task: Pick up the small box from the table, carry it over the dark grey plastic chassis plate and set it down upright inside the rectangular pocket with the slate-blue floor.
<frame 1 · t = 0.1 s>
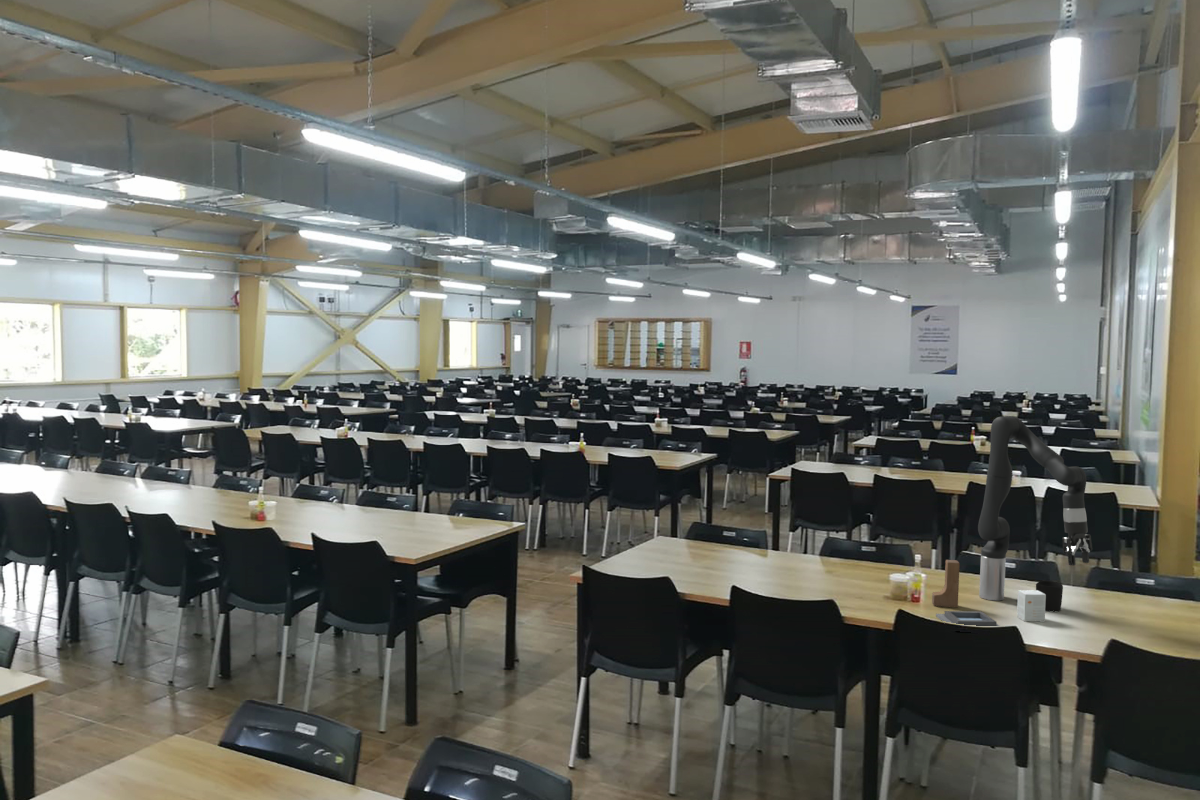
hand: (1079, 563, 314), 22 cm above the table, tool pointing down, fingers open, 8 cm apart
wooden block: (944, 606, 335), on the table
small box: (1030, 620, 319), on the table
pen holder: (1048, 609, 333), on the table
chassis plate: (969, 624, 312), on the table
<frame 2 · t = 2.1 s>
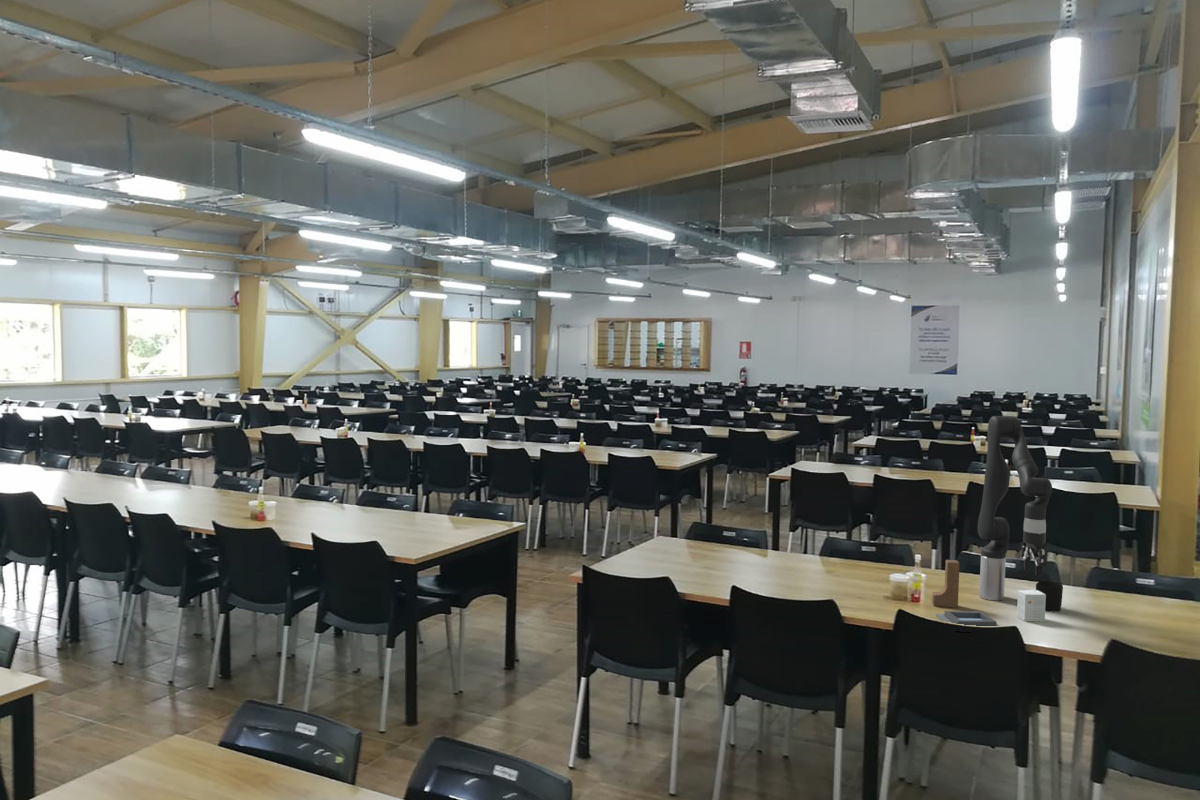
hand: (1032, 573, 318), 18 cm above the table, tool pointing down, fingers open, 8 cm apart
nothing on the table moved.
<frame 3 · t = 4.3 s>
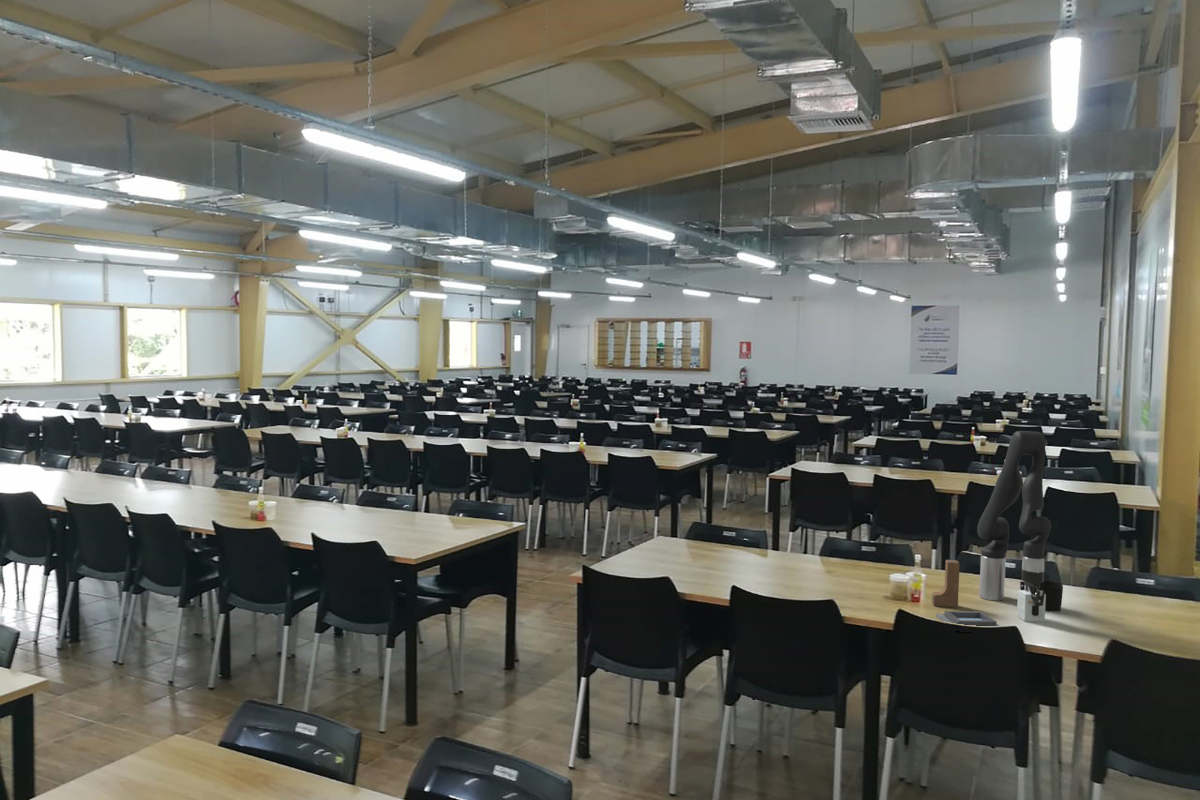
hand: (1030, 612, 319), 3 cm above the table, tool pointing down, fingers closed on small box, 5 cm apart
small box: (1030, 619, 319), on the table, touching gripper
everything else where it was.
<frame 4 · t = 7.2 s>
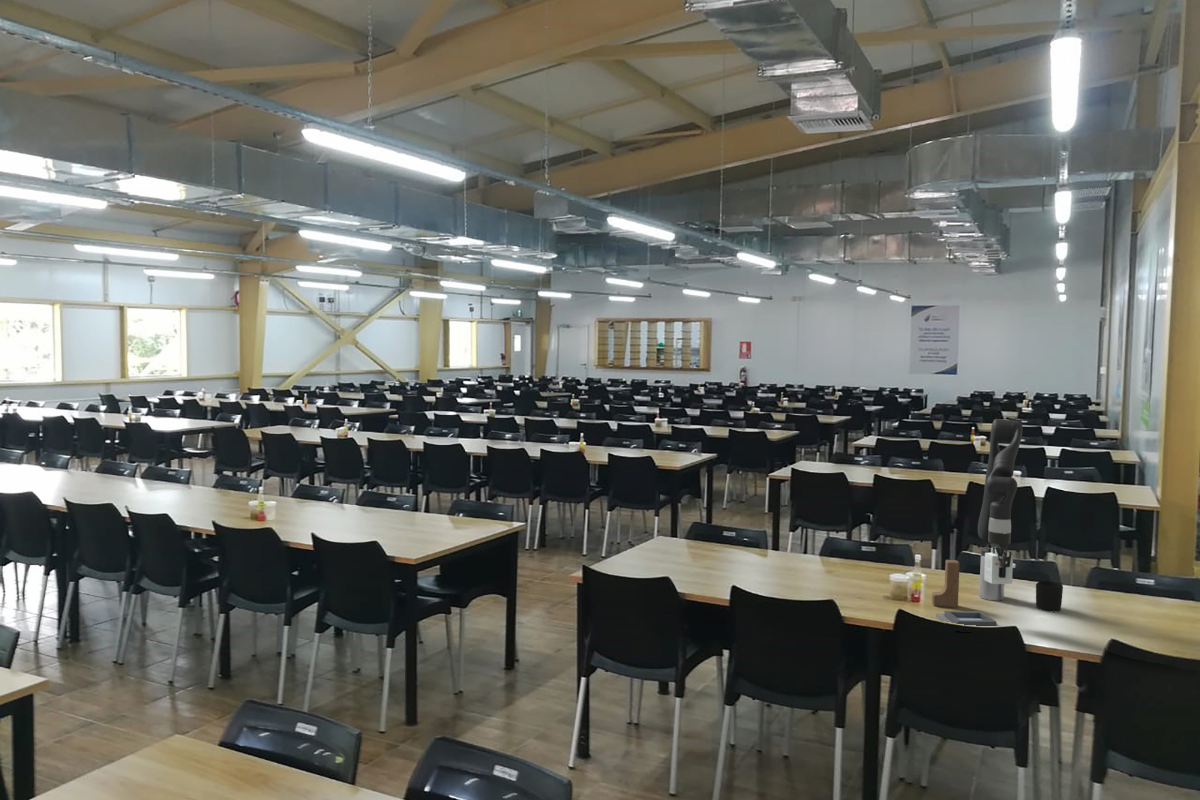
hand: (997, 575, 313), 18 cm above the table, tool pointing down, fingers closed on small box, 5 cm apart
small box: (997, 582, 314), point 15 cm above the table, touching gripper
everything else where it was.
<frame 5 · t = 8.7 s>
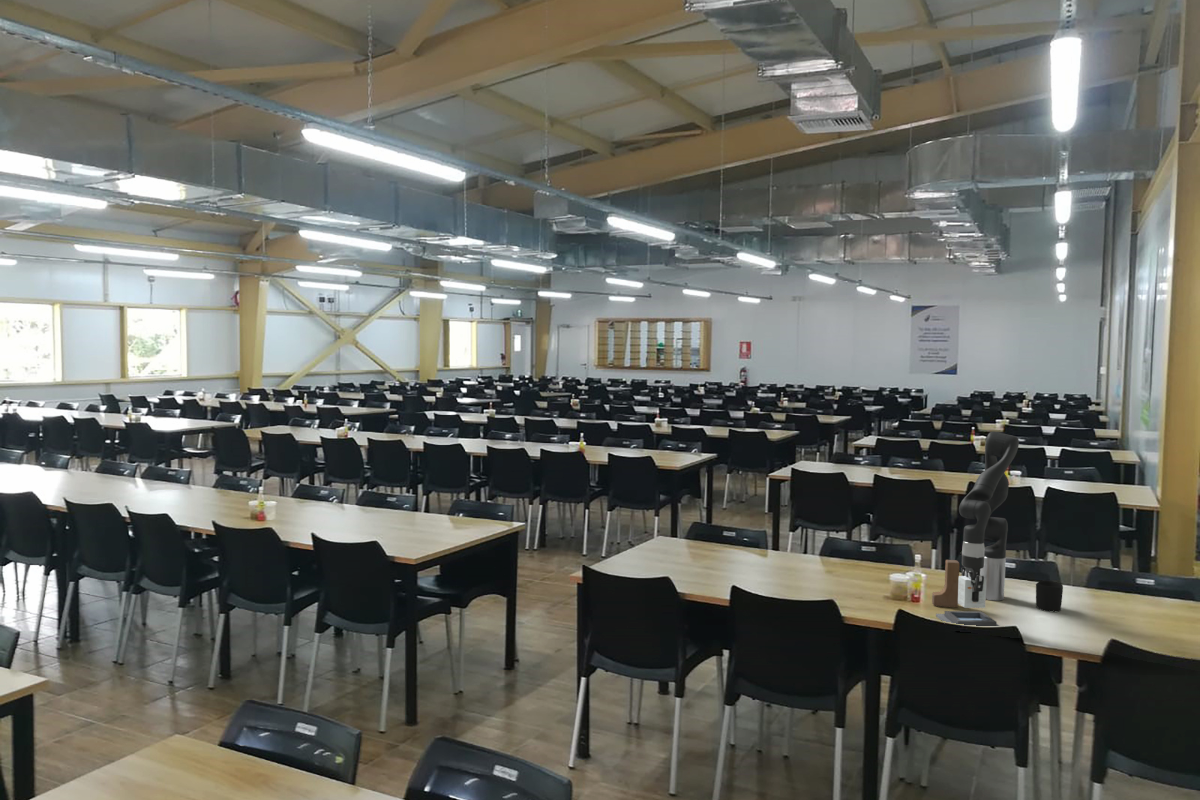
hand: (971, 598, 312), 10 cm above the table, tool pointing down, fingers closed on small box, 5 cm apart
small box: (971, 606, 312), point 7 cm above the table, touching gripper
everything else where it was.
when the fingers open (5 cm above the table, at t = 10.1 s): small box drops 1 cm, resting on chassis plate.
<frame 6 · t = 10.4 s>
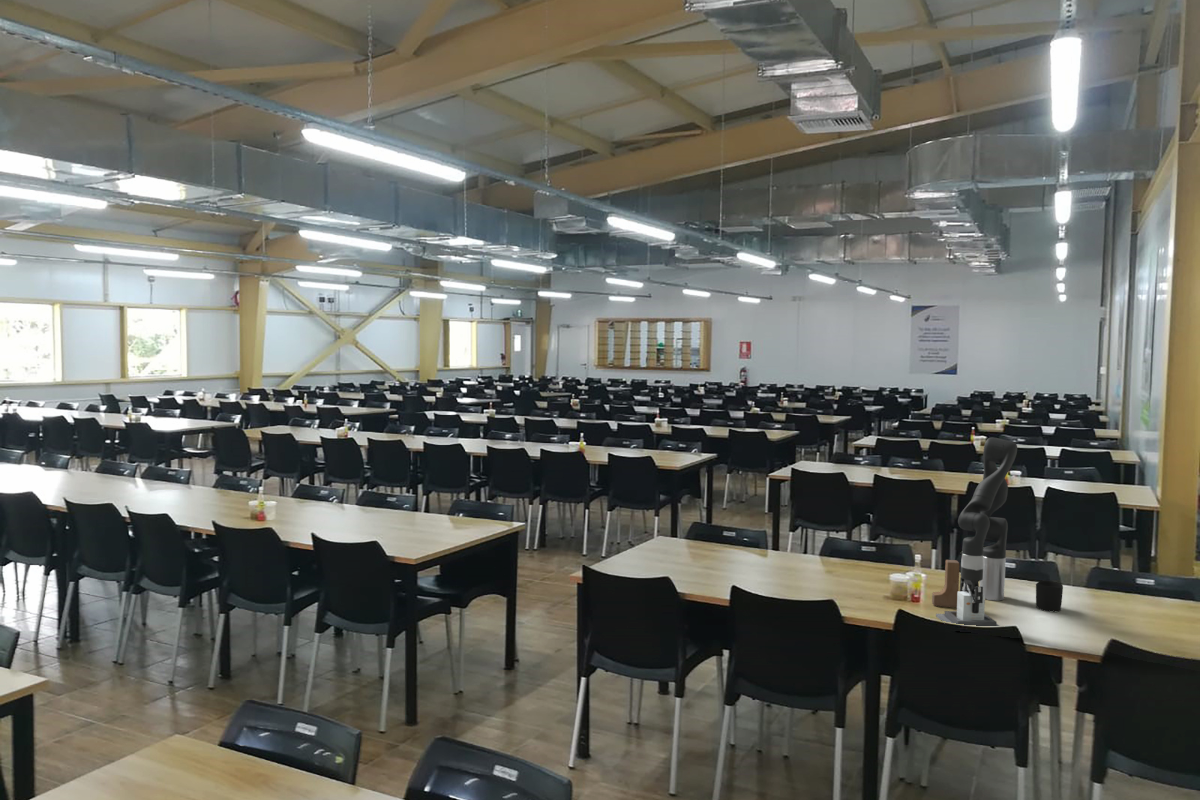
hand: (970, 609, 312), 6 cm above the table, tool pointing down, fingers open, 8 cm apart
small box: (970, 621, 312), point 1 cm above the table, touching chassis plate
everything else where it was.
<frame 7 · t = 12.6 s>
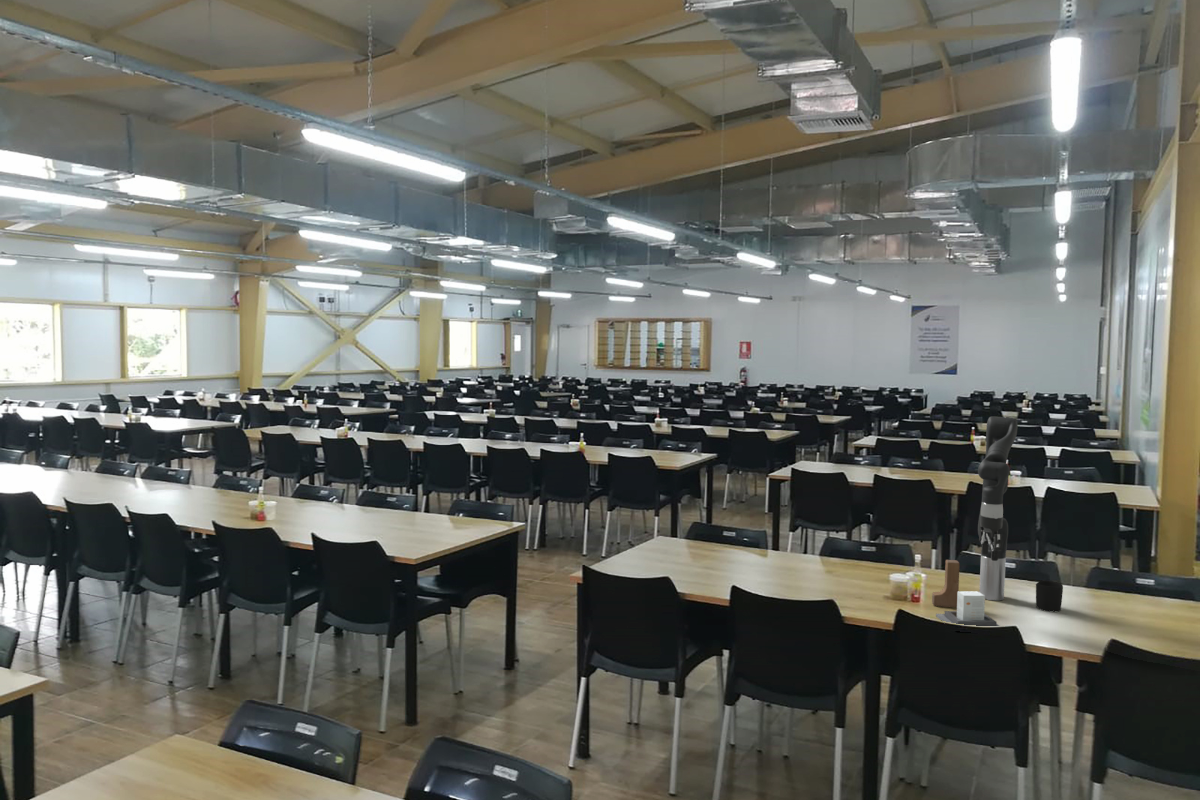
hand: (989, 557, 317), 24 cm above the table, tool pointing down, fingers open, 8 cm apart
nothing on the table moved.
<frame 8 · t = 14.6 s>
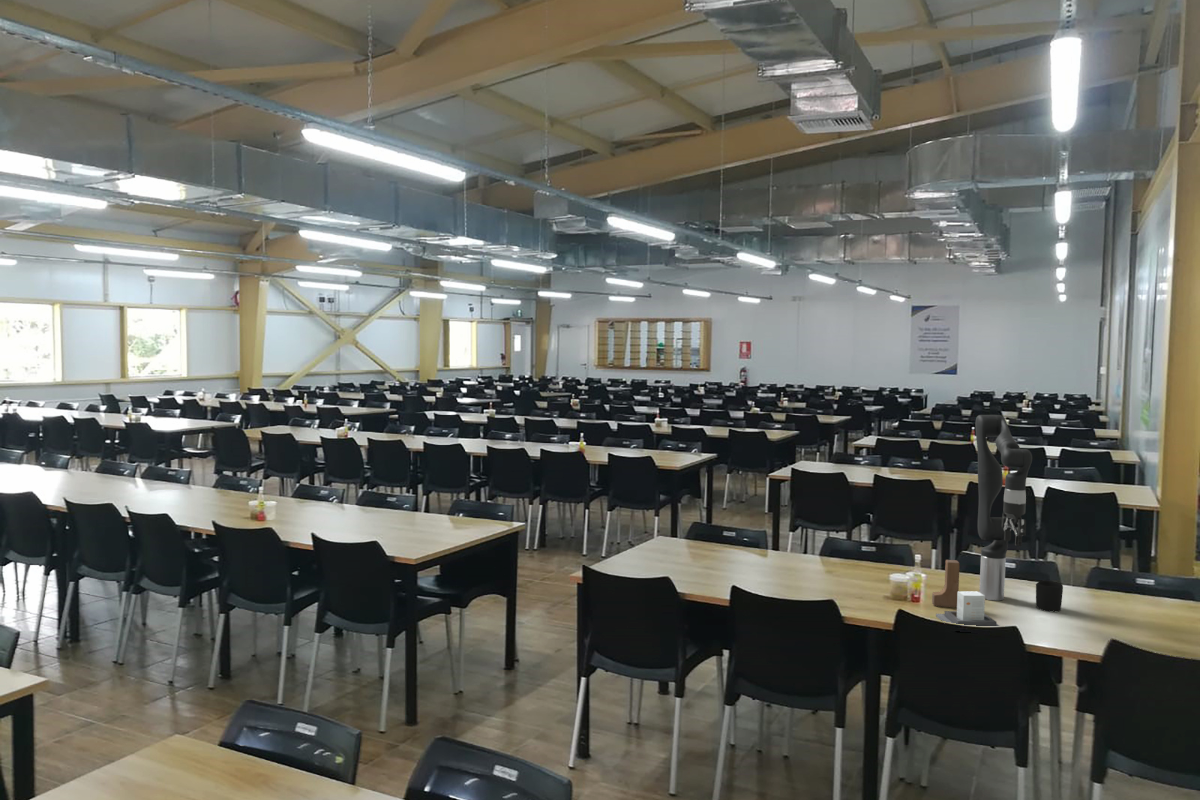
hand: (1012, 543, 322), 28 cm above the table, tool pointing down, fingers open, 8 cm apart
nothing on the table moved.
at the end: small box 0.1 cm off-centre on the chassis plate, point 0.9 cm above the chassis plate's base; small box tilted 0°; the gripper is holding nothing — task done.
